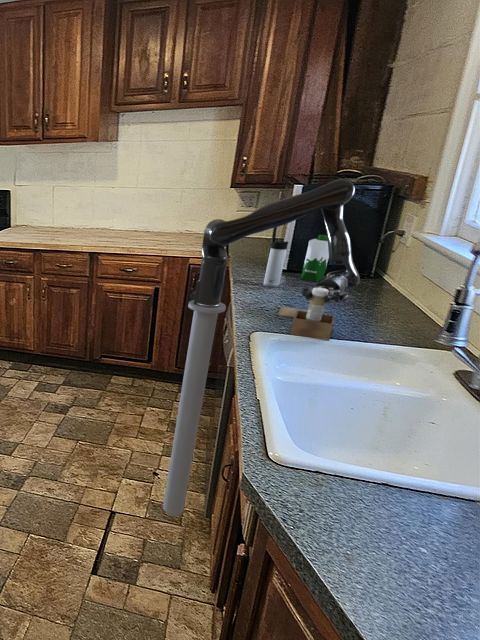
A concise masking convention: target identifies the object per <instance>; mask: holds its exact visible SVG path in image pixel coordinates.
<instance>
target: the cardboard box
mask: <svg viewBox="0 0 480 640" xmlns="http://www.w3.org/2000/svg"><path fill="white" fill-rule="evenodd" d="M306 315H307V312H306V311H299V310H297V312H296V314H295V317H294V318H292V319H293V320H292V324H291V328H290V333H289V335H292V336H298V337H304V338H309V339H315V340H320V341H321V340H322V341H327V342H329V341H330V339H331V334H332V330H333V327H334V322H335V318H336V316H335V315H332V314H326V313H325V314H324V313H323V314H322V317H321V320H320V322H316V321H309V320H306ZM321 336H322V337H321ZM327 337H328V338H327Z"/></svg>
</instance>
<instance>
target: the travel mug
mask: <svg viewBox="0 0 480 640" xmlns="http://www.w3.org/2000/svg"><path fill="white" fill-rule="evenodd" d="M288 245H289V241H272V242H271V245H270V250H269V255H268V259H267V265H266V270H265V275H264V280H263V284H262V285H263V286H264V287H265V288H271V289H276V288H279V287H280V284H281V283H280V282H281V278H282V274H283V269H284V264H285V260H286V255H287V250H288Z"/></svg>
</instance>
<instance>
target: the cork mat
mask: <svg viewBox="0 0 480 640" xmlns="http://www.w3.org/2000/svg"><path fill="white" fill-rule="evenodd" d="M297 310H299V311H306V312H308V309H302V308H296V307H289V306H280V308H279V310H278V312H277V314H276V316H279V317H286V318H292V319H294V317H295V314H296V312H297Z"/></svg>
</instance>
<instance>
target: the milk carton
mask: <svg viewBox="0 0 480 640" xmlns="http://www.w3.org/2000/svg"><path fill="white" fill-rule="evenodd" d="M303 262H304V263H303V267H302V273H301V277H300V280H304V281H310V282H316V283H319V282H321V281H322V280H324V276H325V274H326V270H327V266H328V264H329V263H328V262H329V252H328V239H327V234H318V237H317V238H312V239H310V240H309V241H308V246H307V250H306V253H305V259H304V261H303Z"/></svg>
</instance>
